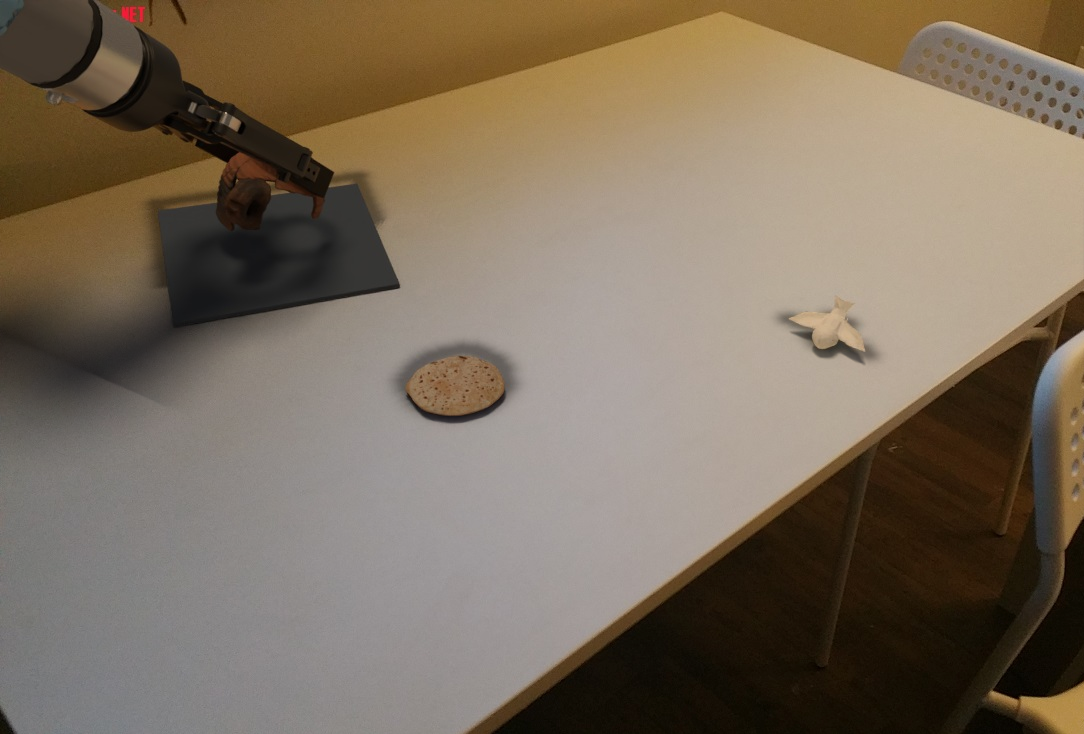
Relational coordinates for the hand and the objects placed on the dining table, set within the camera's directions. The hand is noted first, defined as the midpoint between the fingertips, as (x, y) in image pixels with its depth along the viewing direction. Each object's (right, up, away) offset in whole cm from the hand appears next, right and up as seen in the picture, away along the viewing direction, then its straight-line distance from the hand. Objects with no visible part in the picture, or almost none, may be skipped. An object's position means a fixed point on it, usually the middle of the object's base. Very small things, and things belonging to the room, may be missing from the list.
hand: (286, 171), depth 95 cm
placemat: (-2, -7, +2) cm, 8 cm away
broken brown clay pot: (-2, -5, 0) cm, 5 cm away
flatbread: (+19, -21, -12) cm, 30 cm away
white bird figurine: (+52, -17, -2) cm, 55 cm away
